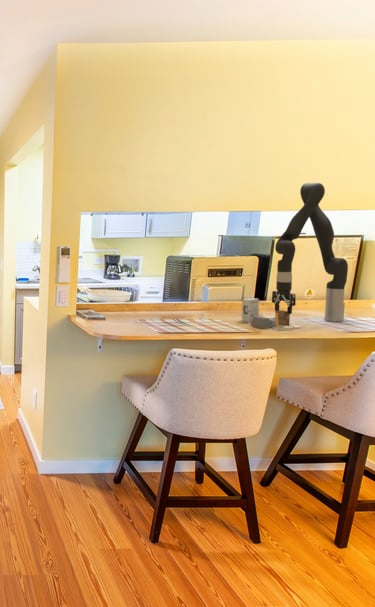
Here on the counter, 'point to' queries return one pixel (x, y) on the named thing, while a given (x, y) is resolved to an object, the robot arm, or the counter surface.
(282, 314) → the brown wooden block
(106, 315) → the counter surface
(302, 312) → the counter surface
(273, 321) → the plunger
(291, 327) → the gauge bed
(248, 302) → the ink box
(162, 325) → the counter surface
